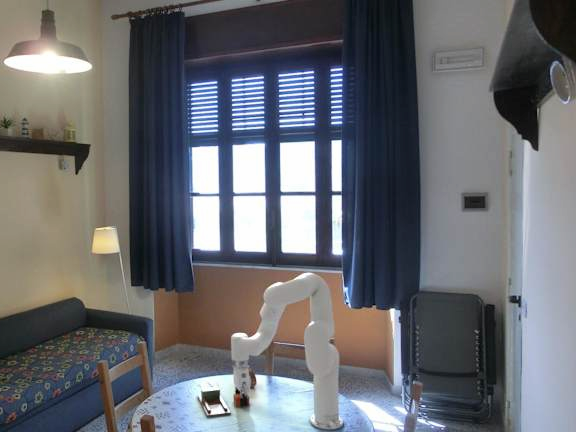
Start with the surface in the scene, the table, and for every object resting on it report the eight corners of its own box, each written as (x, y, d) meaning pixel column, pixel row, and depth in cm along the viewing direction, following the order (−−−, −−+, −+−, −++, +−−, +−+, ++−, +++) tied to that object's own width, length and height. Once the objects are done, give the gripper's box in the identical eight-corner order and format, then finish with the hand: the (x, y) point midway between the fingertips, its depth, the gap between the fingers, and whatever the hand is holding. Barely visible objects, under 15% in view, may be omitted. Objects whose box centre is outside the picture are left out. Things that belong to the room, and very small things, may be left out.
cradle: (230, 414, 208) (230, 403, 207) (207, 417, 206) (207, 405, 205) (219, 394, 227) (218, 384, 227) (197, 397, 225) (197, 386, 225)
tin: (257, 389, 232) (256, 371, 231) (251, 390, 230) (250, 372, 230) (240, 378, 245) (239, 361, 245) (234, 379, 244) (234, 362, 243)
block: (246, 401, 219) (246, 392, 219) (249, 405, 215) (249, 396, 215) (233, 403, 218) (233, 394, 218) (236, 407, 214) (235, 398, 214)
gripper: (254, 368, 208) (256, 410, 209) (242, 354, 225) (244, 393, 226) (237, 370, 206) (238, 412, 207) (226, 356, 223) (227, 395, 225)
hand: (241, 402), depth 217 cm, fingers open, 7 cm apart
